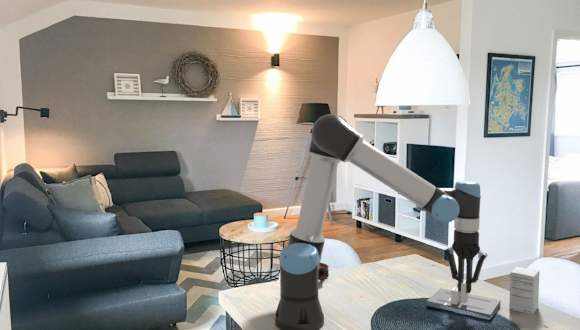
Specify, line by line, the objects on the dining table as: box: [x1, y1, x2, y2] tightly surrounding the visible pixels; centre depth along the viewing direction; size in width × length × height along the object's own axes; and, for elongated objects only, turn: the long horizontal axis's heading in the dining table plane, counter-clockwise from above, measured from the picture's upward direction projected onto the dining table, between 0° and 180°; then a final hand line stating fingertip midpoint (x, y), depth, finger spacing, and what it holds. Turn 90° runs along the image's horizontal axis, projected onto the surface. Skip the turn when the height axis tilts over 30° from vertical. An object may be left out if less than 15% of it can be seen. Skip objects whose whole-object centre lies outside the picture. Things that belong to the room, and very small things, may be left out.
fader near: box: [451, 286, 460, 305], centre depth 157 cm, size 4×2×5 cm, turn 145°
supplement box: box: [508, 266, 540, 315], centre depth 157 cm, size 7×7×13 cm
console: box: [426, 287, 502, 318], centre depth 160 cm, size 15×20×2 cm
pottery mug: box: [318, 262, 330, 282], centre depth 186 cm, size 12×10×8 cm
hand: (464, 301), depth 155 cm, fingers closed
